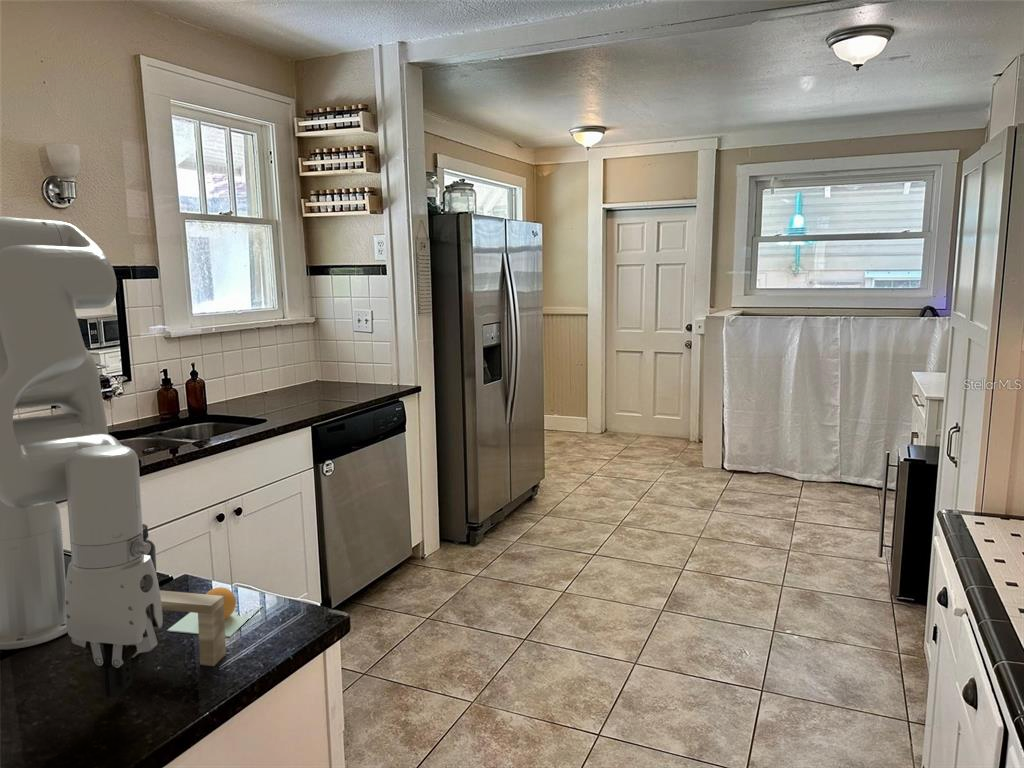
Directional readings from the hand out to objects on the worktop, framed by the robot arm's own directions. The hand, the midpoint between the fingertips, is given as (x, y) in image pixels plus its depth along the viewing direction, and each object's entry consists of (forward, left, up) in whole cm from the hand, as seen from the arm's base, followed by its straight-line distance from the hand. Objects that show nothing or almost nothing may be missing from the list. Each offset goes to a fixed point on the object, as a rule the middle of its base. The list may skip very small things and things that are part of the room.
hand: (117, 690), depth 86 cm
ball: (+1, +22, +1) cm, 22 cm away
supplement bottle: (-17, +26, -2) cm, 31 cm away
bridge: (0, +11, -2) cm, 11 cm away
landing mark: (0, +22, -2) cm, 22 cm away
